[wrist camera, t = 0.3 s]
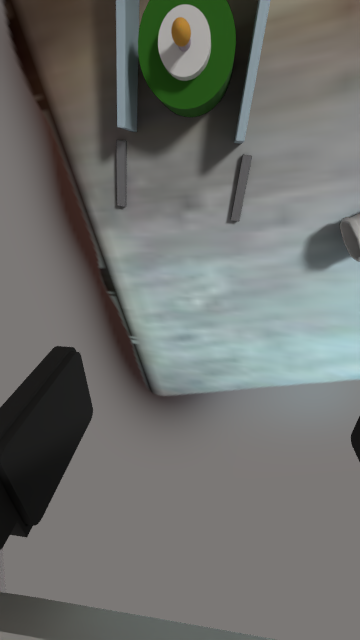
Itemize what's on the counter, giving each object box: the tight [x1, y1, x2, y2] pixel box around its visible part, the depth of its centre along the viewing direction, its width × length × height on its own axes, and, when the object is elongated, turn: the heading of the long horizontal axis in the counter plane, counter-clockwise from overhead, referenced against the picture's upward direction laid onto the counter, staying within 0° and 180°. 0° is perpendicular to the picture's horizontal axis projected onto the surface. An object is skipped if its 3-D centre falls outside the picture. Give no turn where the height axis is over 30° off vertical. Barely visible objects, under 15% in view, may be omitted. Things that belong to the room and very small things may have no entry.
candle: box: [138, 0, 236, 117], centre depth 24 cm, size 8×8×10 cm
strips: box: [116, 140, 252, 221], centre depth 33 cm, size 7×15×1 cm, turn 84°
